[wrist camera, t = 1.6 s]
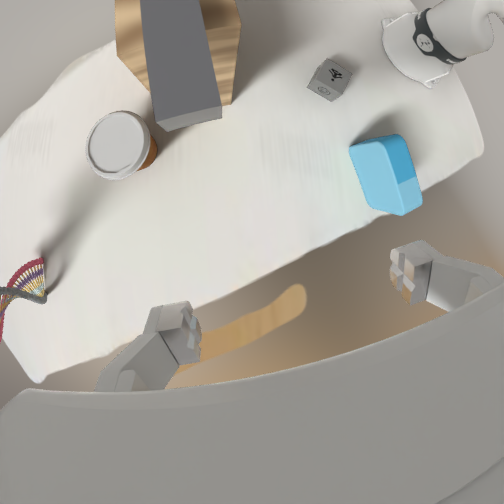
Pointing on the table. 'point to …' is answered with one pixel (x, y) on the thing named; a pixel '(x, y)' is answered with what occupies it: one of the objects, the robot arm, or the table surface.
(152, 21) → the grey rectangular bar
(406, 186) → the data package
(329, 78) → the dice cube
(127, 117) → the disposable coffee cup
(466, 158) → the table surface
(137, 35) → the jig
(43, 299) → the dna model
